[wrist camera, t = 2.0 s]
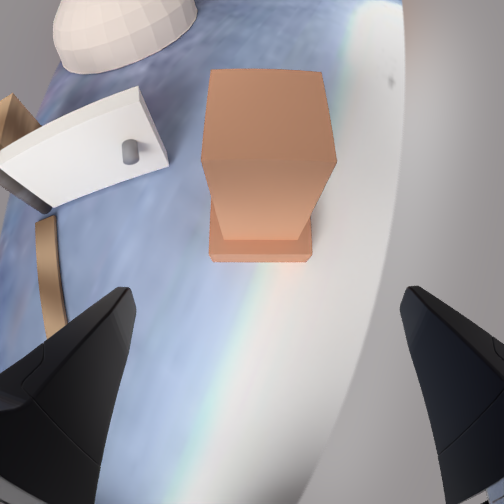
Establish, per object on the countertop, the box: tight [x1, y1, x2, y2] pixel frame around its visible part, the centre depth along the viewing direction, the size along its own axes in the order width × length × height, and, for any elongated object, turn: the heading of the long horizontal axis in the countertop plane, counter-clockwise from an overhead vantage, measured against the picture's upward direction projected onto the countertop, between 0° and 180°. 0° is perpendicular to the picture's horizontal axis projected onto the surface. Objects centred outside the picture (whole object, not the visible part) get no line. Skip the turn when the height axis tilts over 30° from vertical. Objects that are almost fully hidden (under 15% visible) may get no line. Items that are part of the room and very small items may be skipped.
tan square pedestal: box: [201, 69, 337, 262], centre depth 18 cm, size 7×7×13 cm
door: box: [0, 86, 169, 208], centre depth 20 cm, size 12×3×9 cm, turn 106°
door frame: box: [0, 93, 68, 339], centre depth 19 cm, size 22×2×10 cm, turn 16°
